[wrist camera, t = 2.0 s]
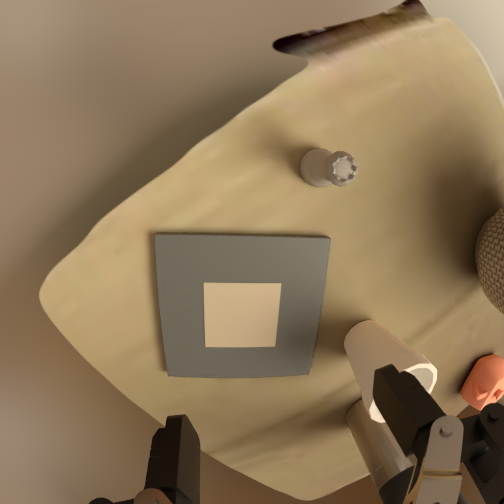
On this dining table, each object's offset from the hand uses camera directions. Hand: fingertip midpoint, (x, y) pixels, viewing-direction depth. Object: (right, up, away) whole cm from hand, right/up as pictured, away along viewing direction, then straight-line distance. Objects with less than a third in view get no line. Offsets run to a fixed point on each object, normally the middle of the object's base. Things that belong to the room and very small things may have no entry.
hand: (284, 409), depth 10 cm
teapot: (+53, -22, +37) cm, 68 cm away
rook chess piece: (+6, +16, +21) cm, 27 cm away
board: (-3, -1, +25) cm, 25 cm away
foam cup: (+15, -6, +28) cm, 33 cm away
